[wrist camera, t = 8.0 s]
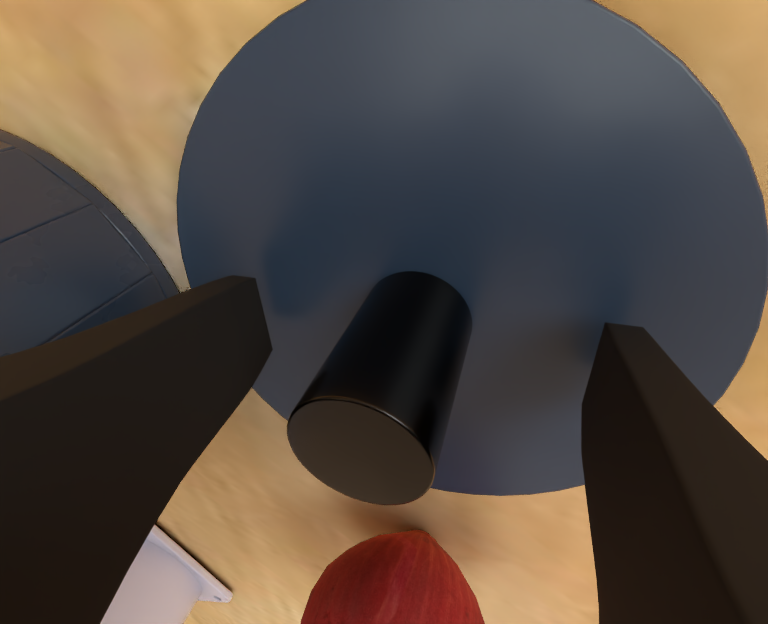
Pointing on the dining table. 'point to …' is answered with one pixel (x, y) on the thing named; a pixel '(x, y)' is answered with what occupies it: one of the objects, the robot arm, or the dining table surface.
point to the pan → (65, 253)
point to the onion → (393, 585)
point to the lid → (467, 230)
